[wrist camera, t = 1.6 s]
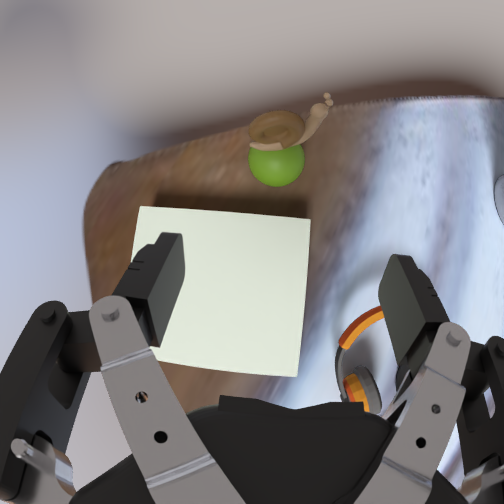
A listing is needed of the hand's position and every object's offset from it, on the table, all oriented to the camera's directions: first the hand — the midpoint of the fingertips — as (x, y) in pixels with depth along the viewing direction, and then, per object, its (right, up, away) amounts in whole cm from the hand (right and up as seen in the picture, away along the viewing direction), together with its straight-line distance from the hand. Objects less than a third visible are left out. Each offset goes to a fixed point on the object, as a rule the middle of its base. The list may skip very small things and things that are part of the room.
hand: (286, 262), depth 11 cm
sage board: (-5, -3, +18) cm, 19 cm away
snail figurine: (+2, +9, +20) cm, 22 cm away
